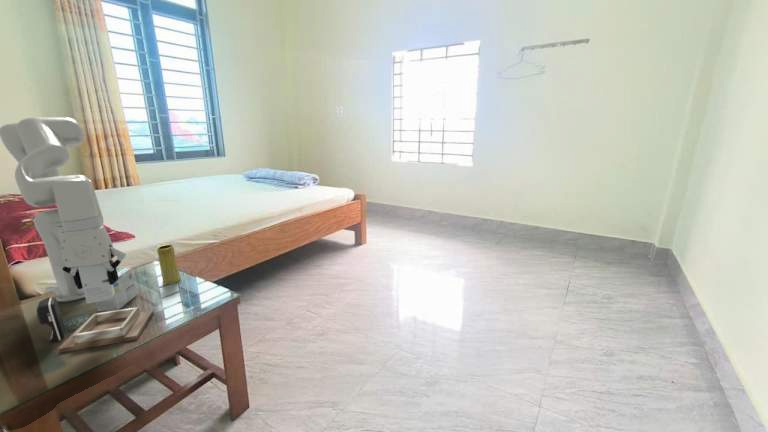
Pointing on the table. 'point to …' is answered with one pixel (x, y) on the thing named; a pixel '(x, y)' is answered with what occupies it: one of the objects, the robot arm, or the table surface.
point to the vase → (168, 264)
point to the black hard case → (51, 318)
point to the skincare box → (96, 283)
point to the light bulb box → (119, 292)
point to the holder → (108, 329)
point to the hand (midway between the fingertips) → (98, 284)
